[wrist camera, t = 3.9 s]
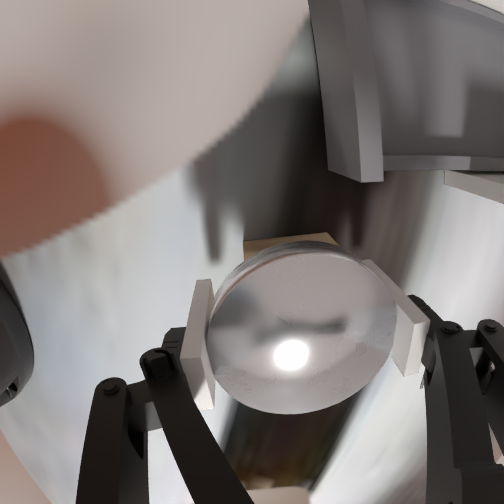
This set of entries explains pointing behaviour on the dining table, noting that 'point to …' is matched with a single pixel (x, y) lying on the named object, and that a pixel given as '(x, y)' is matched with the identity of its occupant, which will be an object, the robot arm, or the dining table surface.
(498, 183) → the white drawer housing
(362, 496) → the dining table surface
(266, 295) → the shiny silver disc
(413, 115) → the tray
